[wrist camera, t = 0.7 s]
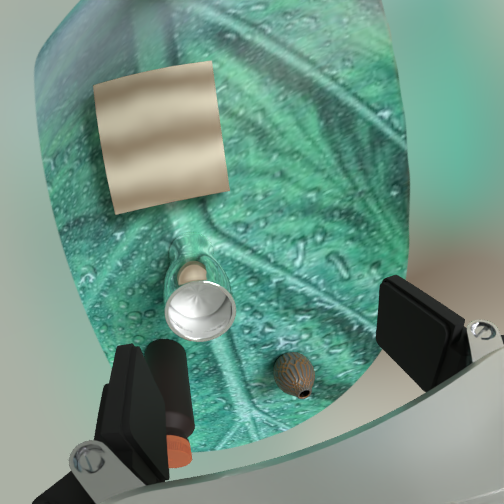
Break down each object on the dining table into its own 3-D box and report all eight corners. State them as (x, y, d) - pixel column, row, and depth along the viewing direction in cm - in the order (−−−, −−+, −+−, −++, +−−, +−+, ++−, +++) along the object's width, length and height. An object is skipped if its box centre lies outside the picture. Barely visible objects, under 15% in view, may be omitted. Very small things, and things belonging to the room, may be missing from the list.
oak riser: (99, 89, 29) (93, 85, 27) (209, 66, 32) (211, 60, 29) (120, 209, 36) (115, 214, 33) (225, 186, 38) (229, 190, 35)
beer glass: (165, 276, 40) (164, 344, 27) (165, 228, 38) (161, 279, 24) (215, 276, 42) (235, 342, 29) (218, 229, 40) (241, 278, 26)
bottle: (143, 366, 45) (142, 469, 27) (146, 335, 43) (141, 443, 25) (183, 370, 47) (196, 472, 29) (188, 340, 45) (204, 446, 27)
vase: (276, 345, 50) (293, 379, 42) (310, 346, 52) (330, 378, 44) (264, 373, 52) (278, 408, 44) (297, 374, 54) (314, 406, 46)
